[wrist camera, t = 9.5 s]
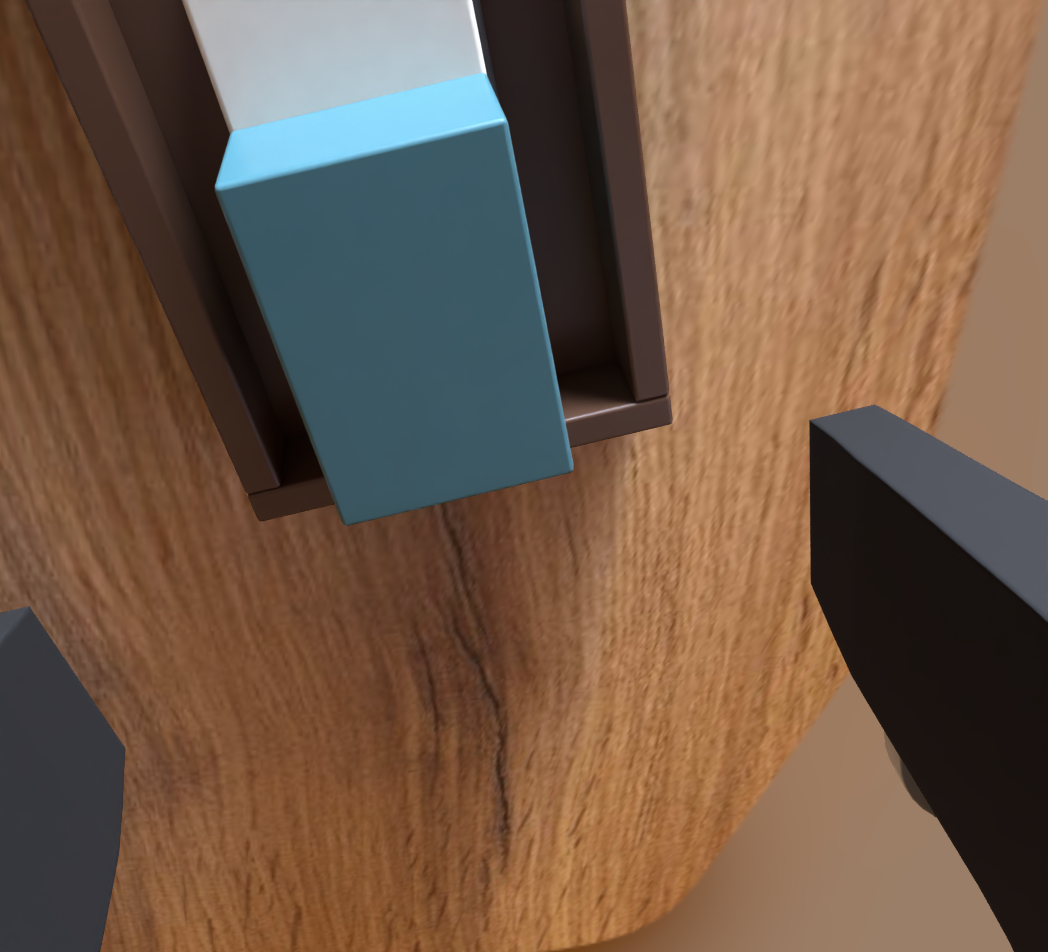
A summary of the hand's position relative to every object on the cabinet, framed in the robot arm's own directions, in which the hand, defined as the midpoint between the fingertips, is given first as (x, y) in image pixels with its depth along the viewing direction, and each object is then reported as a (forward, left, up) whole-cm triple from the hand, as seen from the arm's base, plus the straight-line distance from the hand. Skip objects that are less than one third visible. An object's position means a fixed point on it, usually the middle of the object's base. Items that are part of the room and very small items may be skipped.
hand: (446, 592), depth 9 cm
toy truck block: (+1, -1, -8) cm, 8 cm away
